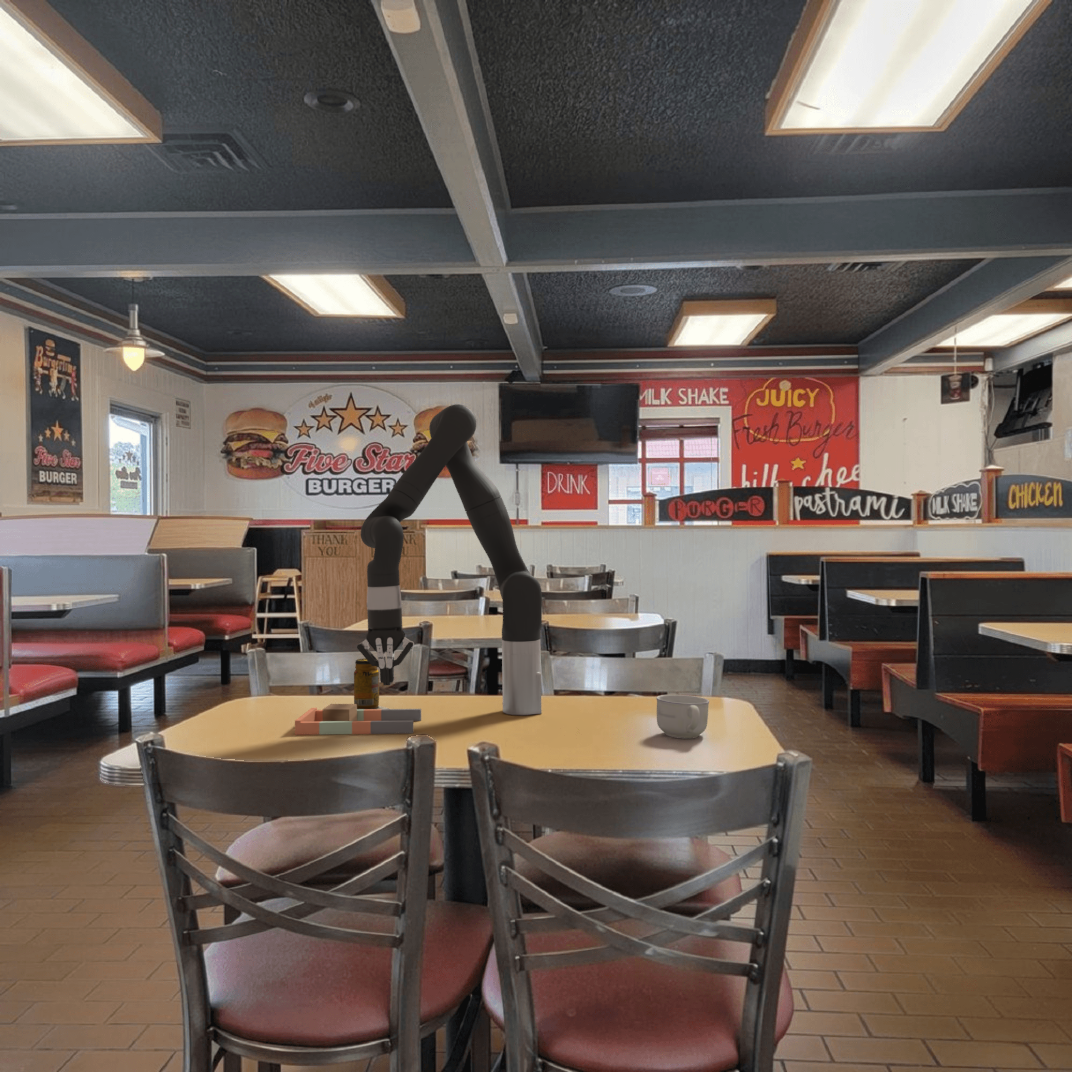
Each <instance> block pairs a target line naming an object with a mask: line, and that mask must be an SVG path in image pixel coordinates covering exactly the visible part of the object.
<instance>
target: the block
mask: <svg viewBox="0 0 1072 1072" xmlns="http://www.w3.org/2000/svg"><path fill="white" fill-rule="evenodd" d="M322 710H323V721H357V704H354V703H330V704H328V705H327V706H325V707H324V708H322Z"/></svg>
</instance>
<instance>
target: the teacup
mask: <svg viewBox="0 0 1072 1072" xmlns="http://www.w3.org/2000/svg"><path fill="white" fill-rule="evenodd" d="M655 699H656V723H657V727H658V728H659V729H660V730H661V732H663V733H664V735H665V736H668V737H669V738H670V737H671V738H676V739H687V740H688V739H695V738H698V737H699V736H700V735H701V734H702V733H704V732H706V729H707V726H708V719H709V704H710V700H709V699H707V698H705V697H702V696H696V695H688V694H687V695H686V694H661V695H658V696H656V698H655Z"/></svg>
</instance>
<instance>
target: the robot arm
mask: <svg viewBox="0 0 1072 1072" xmlns="http://www.w3.org/2000/svg"><path fill="white" fill-rule="evenodd" d="M428 428H429V435H430V440H429V442H428V443H427V445H426V446H425V447H424V449H422V451H421V452H420V453H419V455H418V456H417V457H416V458H415V459H414V460H413V462H411V464H410V465H409V466H408V467H407V468H406V469H405V471H403V473H402V475H400V477H399V478H398V480H397V482H396V483H394V486H393V487H392V489H391V490H390V492H389V493H388V495H387V496H386V498H384V500H382V502H380V503H379V504H378V505H377V506H376V507H375V508H374V509H373V511H371V512H370V514H369V515H368V516H367V517H366V518H365V519H364V521H363V522H362V524H361V525H362V526H361V528H360V538H361V541H362V542H363V543H364V545H365V546H366V547H369V548H372V549H374V553H373V559H372V560H370V561H369V562H368V563H367V567H366V576H367V577H366V580H367V581H366V584H367V592H366V609H367V610H366V611H367V612H366V614H367V633H366V635H365V639H364V640H363V641H361V642H360V643H358V644H357V645H356V649H357V650H358V651H359V652H360V654H361V655H362V656H363V657H364V658H366V659H367V660H368V662H369V663H370V664H371V665H372V666H376V667H377V668H378V670H379V682H380V683H381V684H383V686H391V685H392V683H394V680H395V667H397V666H399V665H401V663H402V662H403V661H404V660H405V658H406V657H407V655H408V654H409V653H410V652H411V650H412V648H413V647H414V646H415V641H413V640H410V639H409V638H407V637H406V634H405V631H404V629H403V613H402V612H403V611H402V609H403V608H402V607H403V606H402V605H403V604H402V592H401V586H400V583H401V582H400V562H401V558H402V553H403V549H404V535H405V534H404V529H403V526H402V522H403V521H404V520H405V519H408V518H409V517H411V516H412V515H413V514H414V513H415V512H416V510H417V509H418V507H419V505H421V503H422V501H423V500H424V499H425V497H426V495H427V494H428V492H429V491H430V489H431V487H432V486H433V484H434V483H435V482H436V480H437V479H438V477H439V476H440V474H441V473H442V471H443V469H444V468H445V467H446V469H447V471H448V472H449V474H450V477H451V479H452V482H453V484H454V486H455V487H454V488H456V489H455V490H456V492H457V494H458V496H459V499H460V501H461V503H462V506H463V508H464V511H465V514H466V517H467V519H468V521H469V523H470V526H471V527H472V529H473V531H474V534H475V535H476V537H477V539H478V541H479V543H480V545H481V547H482V548H483V551H484V552H485V554H486V556H487V557H488V559H489V562H490V564H491V567H492V570H493V573H494V576H495V579H496V581H497V586H498V589H499V593H500V597H501V599H502V625H501V660H502V661H501V664H502V666H501V672H502V678H501V679H502V682H501V683H502V713H504V714H506V715H511V716H529V715H537V714H542V666H541V665H542V663H541V662H542V661H541V660H542V657H541V654H542V652H541V651H542V650H541V649H542V648H541V638H542V637H541V636H542V635H541V632H542V631H541V630H542V627H543V626H542V624H543V623H542V622H543V621H542V620H543V619H542V618H543V615H542V613H543V611H542V609H543V602H542V601H543V597H542V596H543V594H542V587H541V584H540V582H539V580H538V579H537V578H536V577H535V576H533V574H531V573H530V571H529V569H528V568H527V566H526V564H525V562H524V559H523V558H522V556H521V554H520V551H519V549H518V545H517V541H516V538H515V533H514V529H513V526H512V522H511V518H510V515H509V513H508V510H507V507H506V505H505V502H504V500H503V497H502V495H501V494H500V492H499V490H498V488H497V486H496V485H495V484H494V483H493V481H492V480H491V479H490V478H489V477H488V476H487V475H486V474H485V472H484V471H483V470H482V469H481V468H480V467H479V465H478V464H477V462H476V461H475V458H474V456H473V454H472V451H471V449H470V447H469V444H468V441H470V440H471V438H472V437H473V436H474V434H475V432H476V428H477V419H476V415H475V414H474V412H473V410H472V409H470V408H469V407H467V406H466V405H463V404H457V403H456V404H451V405H449V406H446V407H445V408H444V409H442V410H441V411H439V412H438V413H436V414H435V415H434V416H433V417H432V419H431V420H430V422H429V427H428ZM401 644H402V648H403V649H402V651H401V653H400V654H399V655H398V656H397V658H396V659H395V655H396V654H395V653H396V651H397V650H398V649H399V647H400V645H401ZM370 647H371V648H372V649H373V650H374V652H376V653H377V658H376V656H375V655H374V654H373V653H372V651H371V650H370Z"/></svg>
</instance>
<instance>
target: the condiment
mask: <svg viewBox="0 0 1072 1072" xmlns="http://www.w3.org/2000/svg"><path fill="white" fill-rule="evenodd" d="M354 665H355V670H354V671H353V704H357V709H390V707H386V706H383V705H382V706H381V705H380V670H379V669H378V667H376V666H372V665H371V664H370V663H369V662H368V660H367V659H366V658H365V657H364V658H358V659H356V660H355V664H354Z"/></svg>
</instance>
